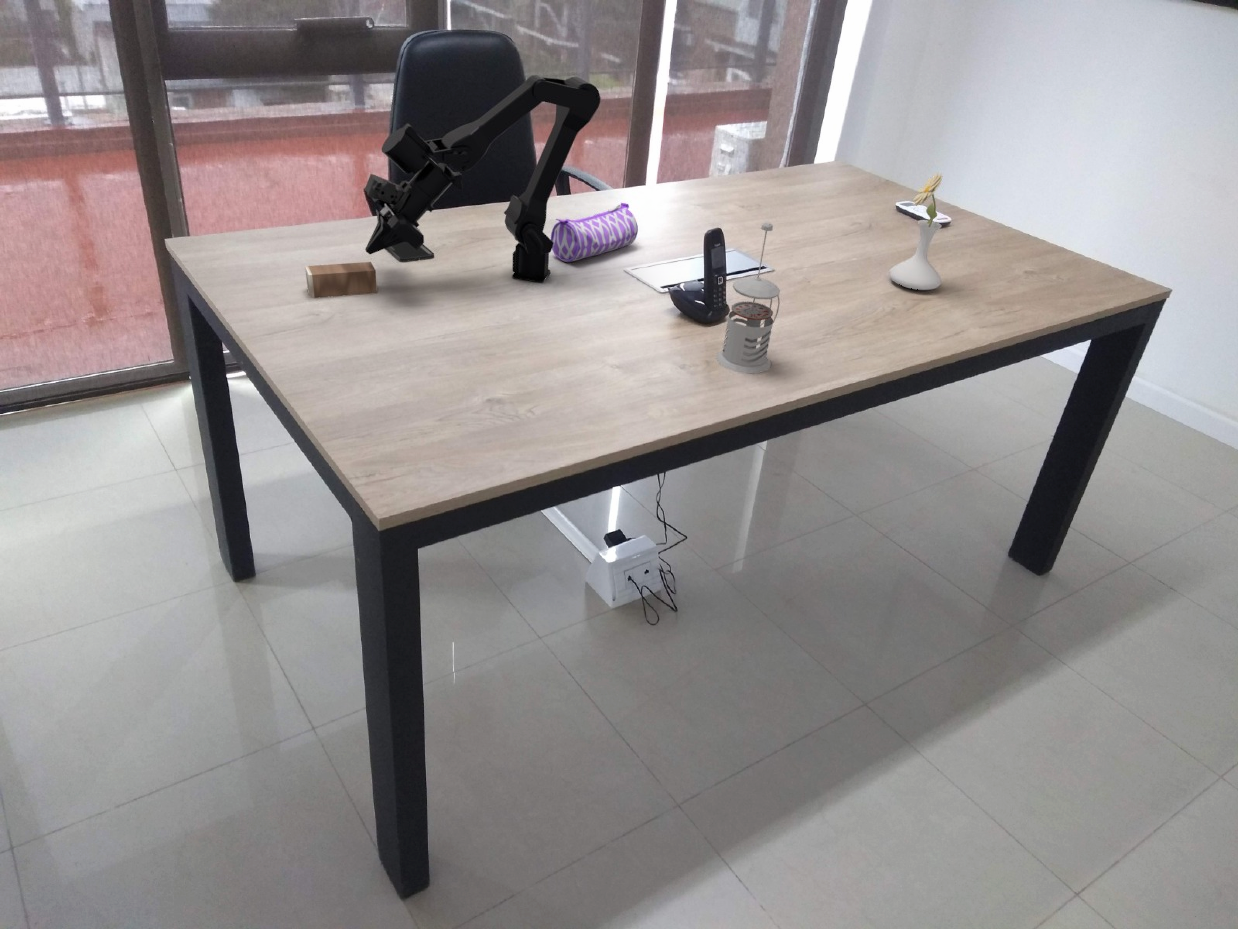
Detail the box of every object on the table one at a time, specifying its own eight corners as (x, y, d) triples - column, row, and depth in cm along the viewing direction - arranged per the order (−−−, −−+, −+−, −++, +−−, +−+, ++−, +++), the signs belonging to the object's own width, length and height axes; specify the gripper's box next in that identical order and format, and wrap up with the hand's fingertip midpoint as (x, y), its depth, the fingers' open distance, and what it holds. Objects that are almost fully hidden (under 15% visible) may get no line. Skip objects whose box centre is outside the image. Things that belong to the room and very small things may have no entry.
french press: (704, 357, 161) (725, 218, 148) (745, 341, 168) (769, 207, 155) (747, 378, 155) (773, 236, 142) (788, 361, 163) (816, 224, 149)
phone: (408, 231, 200) (435, 254, 189) (408, 236, 200) (435, 259, 190) (373, 235, 196) (399, 259, 185) (373, 240, 196) (399, 264, 186)
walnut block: (370, 261, 173) (305, 266, 169) (375, 270, 170) (308, 275, 165) (372, 284, 176) (307, 288, 171) (376, 292, 172) (311, 298, 168)
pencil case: (609, 236, 211) (612, 196, 206) (641, 247, 207) (645, 206, 201) (545, 258, 196) (547, 215, 191) (578, 270, 191) (581, 226, 186)
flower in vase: (895, 271, 208) (924, 159, 194) (944, 284, 203) (978, 171, 190) (877, 287, 198) (907, 171, 185) (929, 301, 194) (963, 183, 180)
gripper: (379, 146, 170) (324, 208, 172) (402, 174, 156) (342, 241, 158) (423, 186, 177) (369, 245, 179) (448, 217, 163) (390, 280, 165)
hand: (367, 252), depth 170 cm, fingers closed
